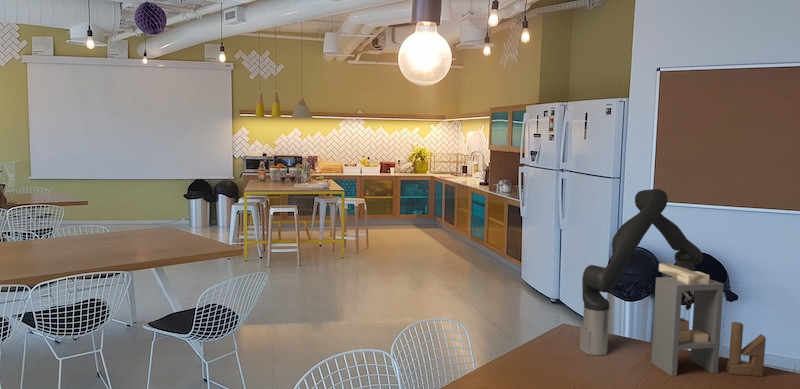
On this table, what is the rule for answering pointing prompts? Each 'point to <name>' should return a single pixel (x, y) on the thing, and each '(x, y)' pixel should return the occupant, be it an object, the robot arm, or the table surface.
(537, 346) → the table surface
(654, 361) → the frame
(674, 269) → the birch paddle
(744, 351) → the wooden block
